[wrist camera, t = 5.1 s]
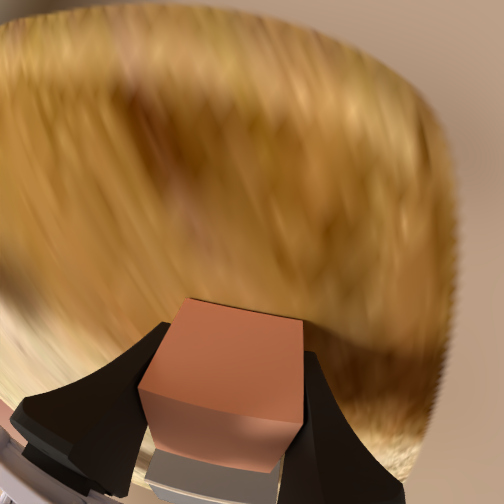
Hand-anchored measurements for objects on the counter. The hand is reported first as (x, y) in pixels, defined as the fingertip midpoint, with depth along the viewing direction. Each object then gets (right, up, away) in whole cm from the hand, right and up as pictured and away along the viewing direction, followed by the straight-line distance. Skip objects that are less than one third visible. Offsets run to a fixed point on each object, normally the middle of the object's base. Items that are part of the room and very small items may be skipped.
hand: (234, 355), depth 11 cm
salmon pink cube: (0, 0, +2) cm, 2 cm away
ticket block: (-2, -13, +8) cm, 16 cm away
